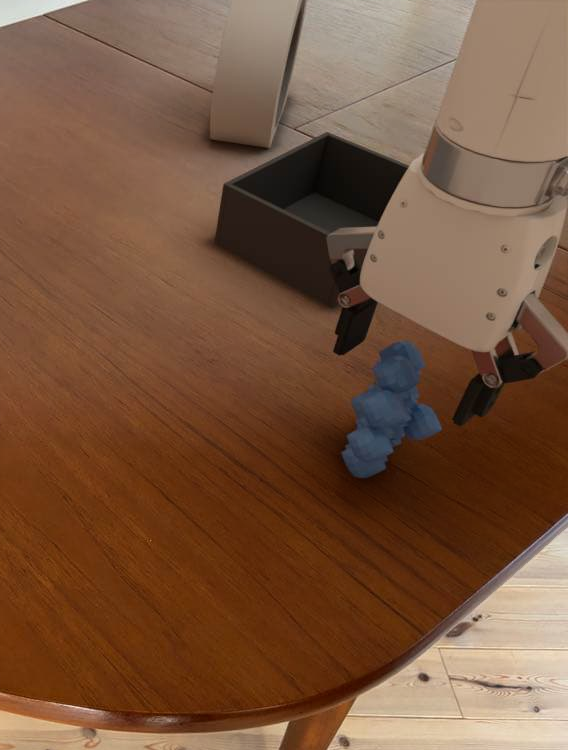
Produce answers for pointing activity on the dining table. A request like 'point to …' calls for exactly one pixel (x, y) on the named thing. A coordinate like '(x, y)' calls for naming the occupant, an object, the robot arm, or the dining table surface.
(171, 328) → the dining table surface
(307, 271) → the basket
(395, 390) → the grapes
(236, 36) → the alarm clock
